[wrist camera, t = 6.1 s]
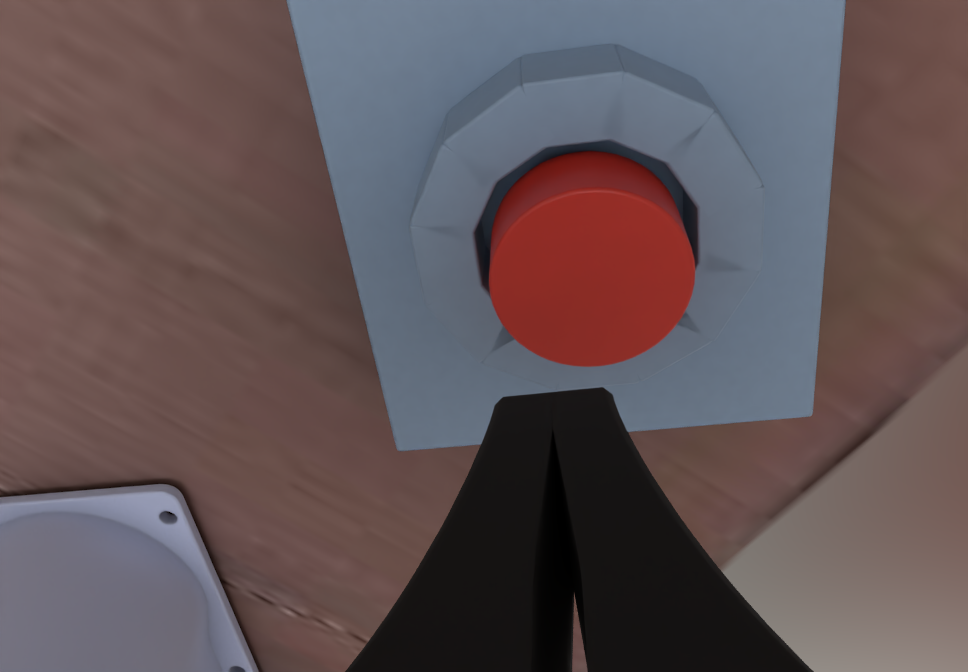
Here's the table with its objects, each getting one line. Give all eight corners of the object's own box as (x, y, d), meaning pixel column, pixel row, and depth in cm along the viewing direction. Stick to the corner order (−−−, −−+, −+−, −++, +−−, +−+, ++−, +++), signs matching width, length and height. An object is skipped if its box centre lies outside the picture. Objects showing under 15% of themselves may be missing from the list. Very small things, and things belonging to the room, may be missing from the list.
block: (789, 364, 23) (836, 469, 19) (406, 399, 24) (387, 504, 20) (821, -171, 16) (901, -155, 13) (293, -92, 17) (238, -57, 14)
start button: (682, 310, 18) (697, 359, 16) (503, 327, 18) (502, 377, 17) (679, 138, 16) (695, 176, 14) (479, 161, 16) (475, 200, 15)
